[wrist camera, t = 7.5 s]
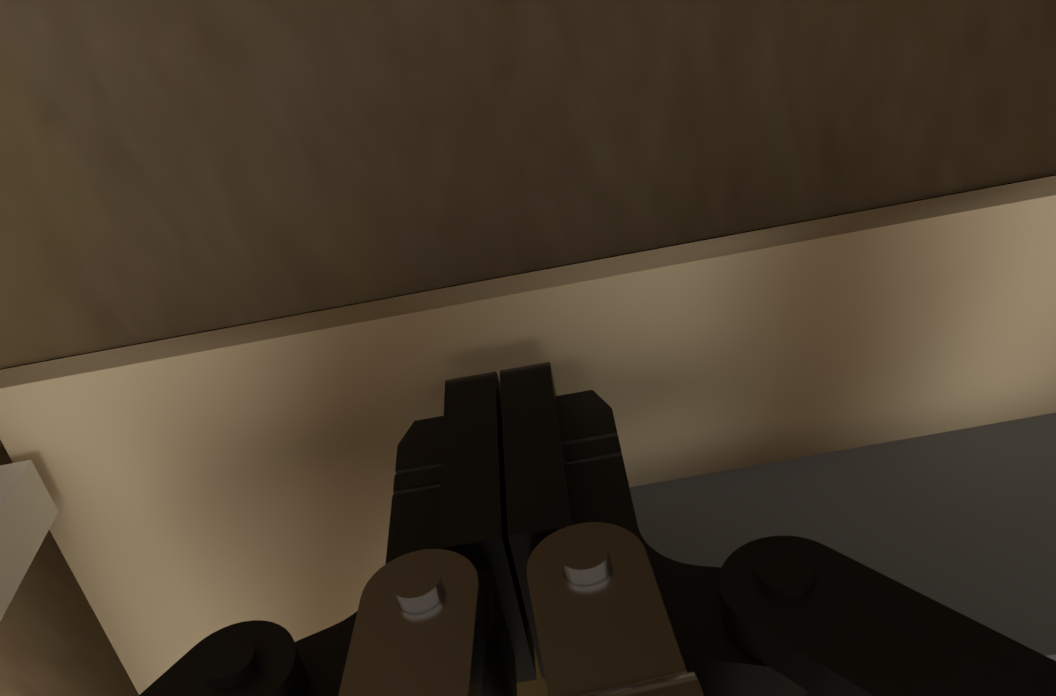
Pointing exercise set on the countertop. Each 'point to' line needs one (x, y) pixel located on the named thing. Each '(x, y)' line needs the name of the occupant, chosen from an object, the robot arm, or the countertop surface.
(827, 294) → the flat beige board
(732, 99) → the countertop surface
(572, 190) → the countertop surface
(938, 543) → the long gray brick
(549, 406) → the robot arm
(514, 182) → the countertop surface
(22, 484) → the strap
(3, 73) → the countertop surface
